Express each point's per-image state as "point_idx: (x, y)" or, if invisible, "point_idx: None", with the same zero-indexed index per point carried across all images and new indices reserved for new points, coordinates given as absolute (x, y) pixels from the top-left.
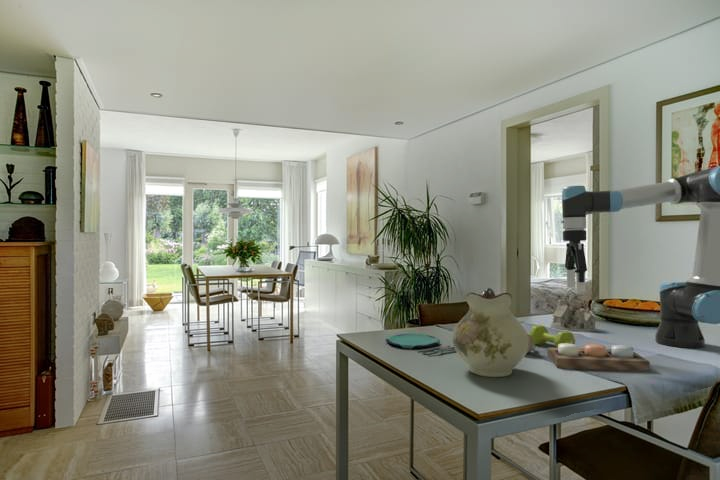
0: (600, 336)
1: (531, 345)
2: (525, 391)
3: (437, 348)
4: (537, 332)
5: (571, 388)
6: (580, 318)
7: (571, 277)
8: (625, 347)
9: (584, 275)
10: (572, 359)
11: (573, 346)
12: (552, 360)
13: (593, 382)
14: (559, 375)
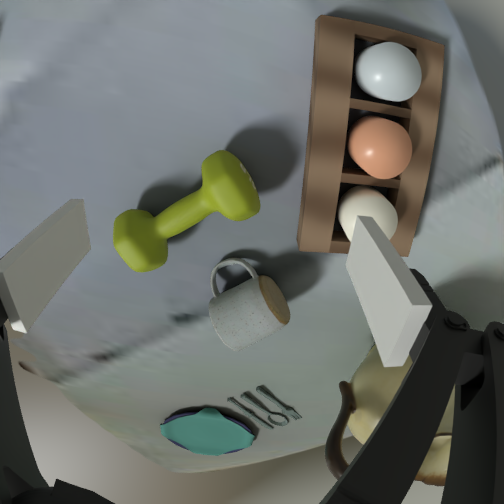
0: (28, 37)
1: (268, 282)
2: (486, 316)
3: (249, 412)
4: (160, 255)
5: (497, 256)
6: None
7: (49, 261)
8: (399, 65)
9: (419, 292)
10: (416, 223)
11: (385, 214)
12: None
13: (485, 209)
14: (444, 255)
